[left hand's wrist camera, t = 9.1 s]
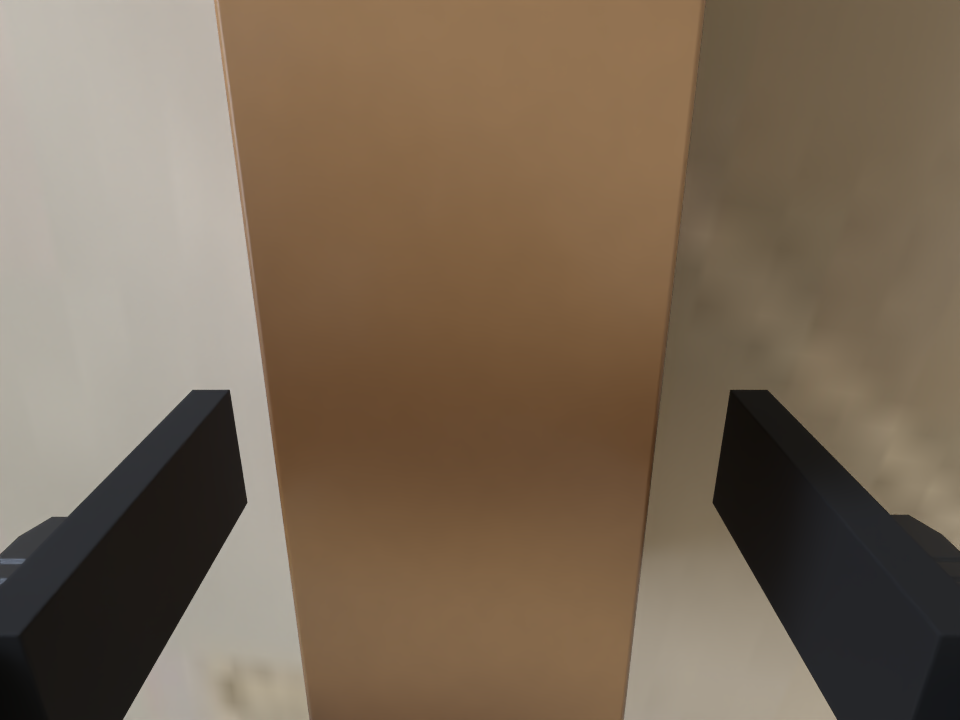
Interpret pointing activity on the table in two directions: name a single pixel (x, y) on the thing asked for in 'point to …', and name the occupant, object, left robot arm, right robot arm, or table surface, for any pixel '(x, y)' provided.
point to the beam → (463, 333)
